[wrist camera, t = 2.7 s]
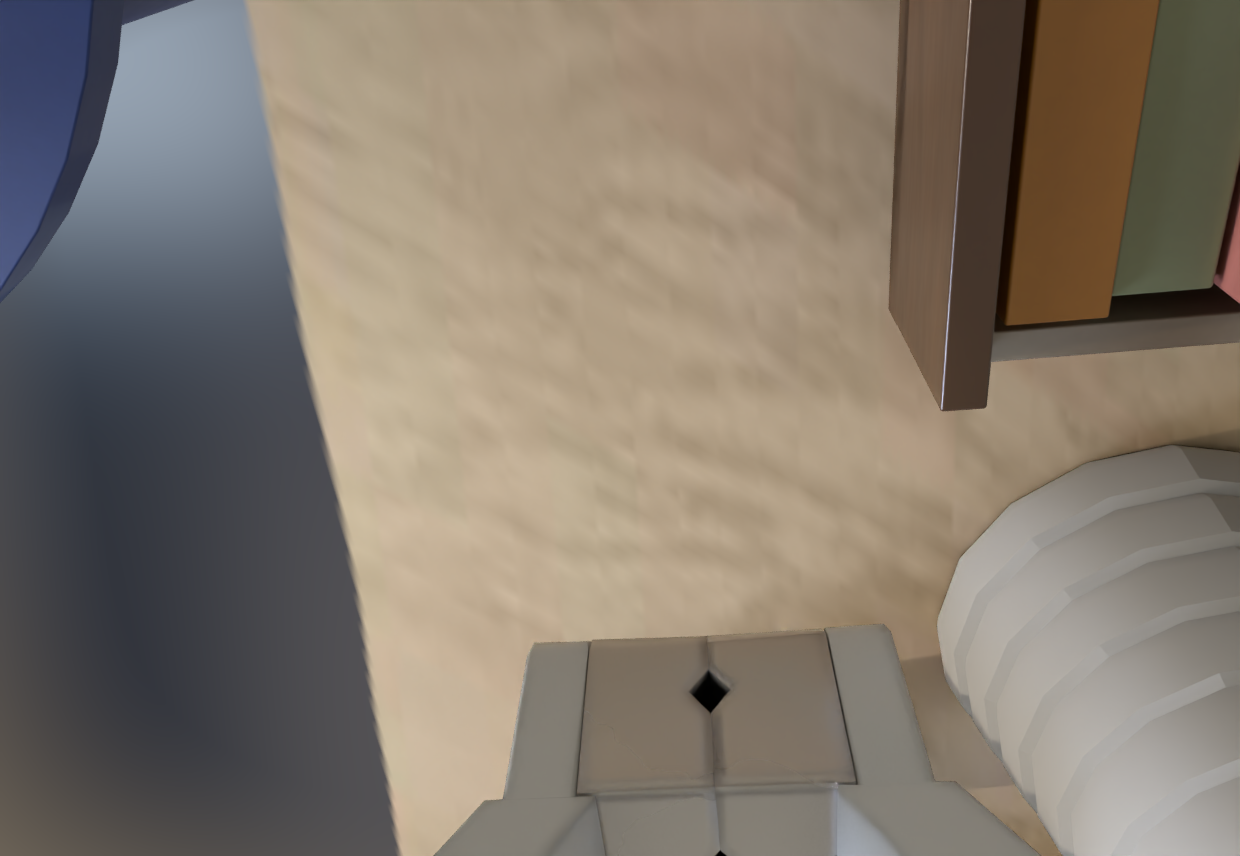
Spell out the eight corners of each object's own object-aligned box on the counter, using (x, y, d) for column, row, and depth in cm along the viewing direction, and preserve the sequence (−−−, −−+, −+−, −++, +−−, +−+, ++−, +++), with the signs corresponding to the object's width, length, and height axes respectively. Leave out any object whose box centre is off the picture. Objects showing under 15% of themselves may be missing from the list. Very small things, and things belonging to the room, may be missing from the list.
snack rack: (888, 309, 26) (940, 412, 21) (904, -119, 21) (977, -108, 16) (1282, 276, 25) (1426, 376, 21) (1396, -176, 20) (1623, -182, 16)
